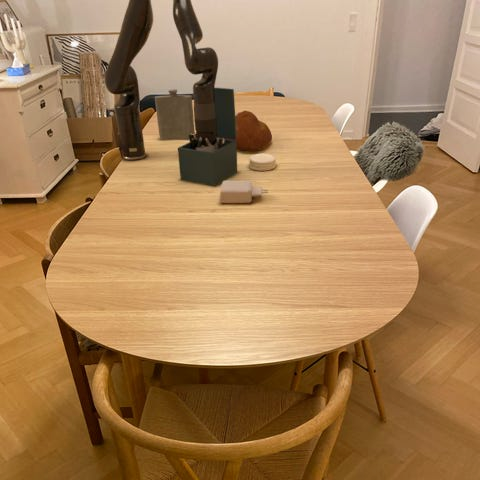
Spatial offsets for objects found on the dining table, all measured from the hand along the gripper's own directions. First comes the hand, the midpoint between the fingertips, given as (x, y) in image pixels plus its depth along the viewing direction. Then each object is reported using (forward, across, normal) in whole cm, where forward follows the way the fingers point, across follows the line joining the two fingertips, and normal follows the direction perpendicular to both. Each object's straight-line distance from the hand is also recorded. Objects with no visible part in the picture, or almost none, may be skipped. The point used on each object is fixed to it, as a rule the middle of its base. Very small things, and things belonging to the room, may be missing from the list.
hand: (208, 165), depth 169 cm
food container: (+2, -1, 0) cm, 2 cm away
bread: (+4, +7, -42) cm, 43 cm away
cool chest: (+4, 0, 0) cm, 4 cm away
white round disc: (+4, -13, -17) cm, 22 cm away
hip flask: (+4, +39, -35) cm, 52 cm away
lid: (-16, 0, -7) cm, 17 cm away
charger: (+4, -22, +13) cm, 26 cm away
